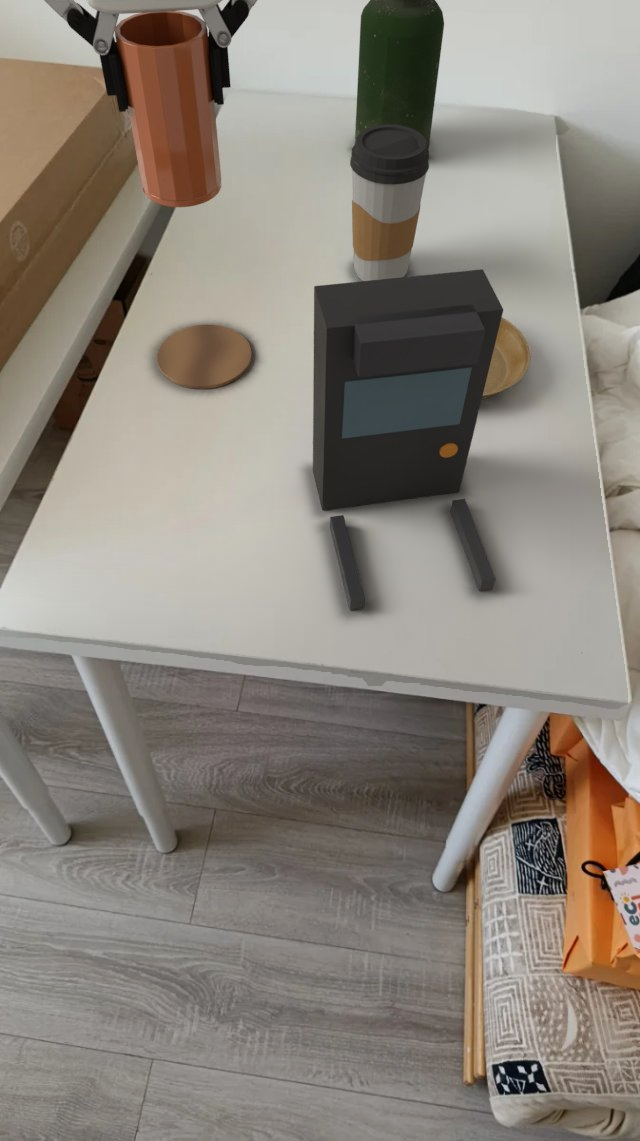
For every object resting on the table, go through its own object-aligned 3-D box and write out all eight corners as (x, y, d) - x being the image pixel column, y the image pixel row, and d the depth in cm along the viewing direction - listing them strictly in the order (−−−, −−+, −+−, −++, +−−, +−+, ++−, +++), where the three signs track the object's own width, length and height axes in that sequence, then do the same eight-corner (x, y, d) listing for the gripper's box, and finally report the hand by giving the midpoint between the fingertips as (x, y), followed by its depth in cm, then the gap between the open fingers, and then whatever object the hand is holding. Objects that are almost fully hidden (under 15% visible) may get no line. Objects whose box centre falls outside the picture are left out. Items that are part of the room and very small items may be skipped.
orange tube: (145, 210, 65) (116, 50, 55) (141, 169, 69) (113, 12, 59) (225, 203, 66) (211, 44, 56) (217, 163, 70) (202, 7, 60)
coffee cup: (429, 277, 91) (448, 147, 79) (373, 301, 89) (383, 170, 76) (387, 243, 95) (398, 114, 83) (331, 265, 93) (335, 135, 80)
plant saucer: (484, 311, 88) (489, 291, 86) (551, 395, 80) (557, 376, 78) (364, 339, 85) (365, 319, 82) (421, 430, 77) (424, 410, 75)
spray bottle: (365, 126, 112) (378, -94, 92) (435, 137, 111) (464, -84, 90) (345, 160, 107) (354, -66, 86) (418, 173, 105) (445, -55, 85)
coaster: (160, 394, 79) (160, 391, 79) (154, 332, 85) (154, 329, 85) (257, 383, 80) (257, 380, 80) (245, 323, 86) (245, 320, 86)
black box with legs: (346, 611, 64) (359, 439, 48) (312, 470, 73) (314, 285, 57) (495, 589, 66) (557, 415, 50) (444, 453, 75) (483, 268, 59)
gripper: (261, -230, 50) (271, 72, 65) (-15, -223, 48) (60, 86, 63) (278, -202, 46) (285, 114, 61) (-24, -194, 44) (59, 131, 59)
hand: (170, 98), depth 62 cm, fingers closed on orange tube, 6 cm apart
